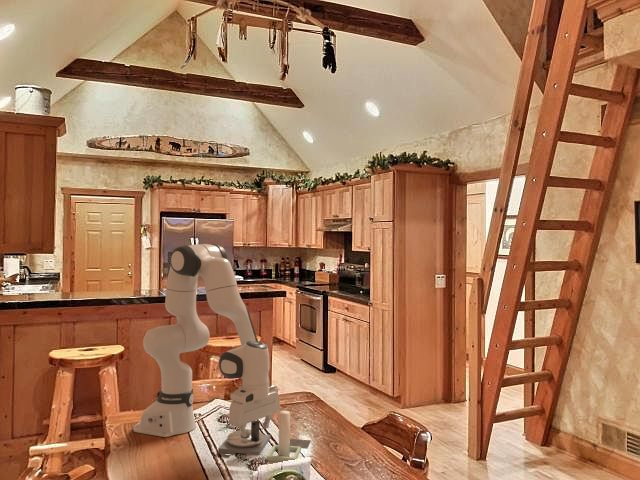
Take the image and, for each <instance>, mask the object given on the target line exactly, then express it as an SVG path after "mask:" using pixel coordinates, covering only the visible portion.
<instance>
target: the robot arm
mask: <svg viewBox="0 0 640 480" xmlns="http://www.w3.org/2000/svg"><path fill="white" fill-rule="evenodd" d="M169 258H170V260H169V263H170V268H169V270H168V274H167V281H166V289H165V302H164V306H165V310H166V311H167V312H168V313H169V314H171V315H172V316H173V317H174V316H175V317H176V323H175V324H168V325H167V324H166V325H159V326H156V327H154V328H150V329H148V330H147V331H146V332H145V335H144V337H143V340H142V345H143V349H144V351H145V352H146V354H148V355H149V356H151V357H152V358H153V359H154V360H155V361H156V362H157V364H158V367H159V369H160V374H161V375H160V377H161V388H160V390H159V391H157V393H155V394H154V395H155V396H154V398H156V400H155V401H154V402H153V403H151V405H149V406H147V407H146V408H145V409H144V410H143V411H142V413H141V416H140V421H138V422H137V423H136V424H135V425H134V427H133V430H132V431H133V432H134V433H139V434H145V435H150V436H158V437H163V438H168V437H171V436H175V435H180V434H185V433H189V432H190V431H194V430H195V428H196V427H197V424H196V420H195V417H194V416H195V415H194V409H193V408H194V407H193V404H194V388H193V370H192V368H191V366H190V365H189V364H187V363H185V362H183V361H181V359H180V354H183V353H188V352H189V353H190V352H195V351H197V350H200V349H203V348H205V347H206V346H207V345H208V344H209V341H210V335H211V334H210V329H209V328H208V326H207V325H206V324H205V323H203V322H202V321H201V319H200V318H199V316H198V315H199V314H198V311H197V293H198V292H197V291H198V281H199V277H201V278H202V280H203V283H204V289H205V295H206V301H207V304H208V306H209V308H210V309H211V310H212V311H213V312H214V313H215V314H217V315H220V316H223V317H225V318H228V319H229V320H231V321H232V322H233V323H234V326H235V328H236V332H237V336H238V338H239V340H240V346H238V347H235V348H232V349H229V350H226V351H224V352H223V353H222V354H220V357H219V359H218V369H219V372H220V374H221V375H222V376H223V377H225V378H226V379H228V380H229V379H233V380H235V379H242V384H241V385H240V386H239V387H238V388H237V389H236V390H234V391H233V392H231V393H230V395H229V397H230V400H232V401H231V403H230V404H229V411H228V413H229V414H228V417H229V418H228V420H229V421H228V422H229V424H230V425H231V426H233V427H237V428H239V430H241V431H242V437H247V436H248V433H249V431H247V430H248V429H246V427H247V424H250V423H251V422H252V421H259V420H261V419H263V418H264V420H263V421H264V422H262V424H261V425H262V429H264V430H267V429H268V428H270V422H271V420H272V417H273V414H276V413H279V412H280V409H281V404H280V401H281V400H280V395H279V388H278V387H277V386H276V385H275V384H274V385H270V378H269V372H270V351H269V347H268V345H267V344H266V343H264V342H263V341H259V340H258V337H257V334H256V330H255V327H254V323H253V321H252V318H251V314H250V312H249V309H248V306H247V305H246V303H244V301H243V299H242V297H241V295H240V292H239V287H238V283H237V282H238V281H237V279H236V275H235V271H234V269H233V266H232V263H231V262H230V261H229V260H228V253H227V250H226V249H225V248H224V247H223V246H221V245H219V244H214V243H211V244H209V243H197V244H190V245H185V244H183V245H181V246H178V247H176V248H174V249H173V250H172V252H171V254H170V257H169Z"/></svg>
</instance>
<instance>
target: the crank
mask: <svg viewBox="0 0 640 480" xmlns="http://www.w3.org/2000/svg"><path fill="white" fill-rule="evenodd" d="M250 423H251V424H250V429H246V430H247V431H249V433H248V436H247V437H242V431H241V429H238V430H235V431H233V432H230V433H229V434H228V435H227V437H226V439H227V442H228V444H229V445H231V446H233V447H238V448H249V447H254V446H257V445H259V444H261V443H262V442H263V435H264V434H263V433H262V432H260V431H261V430H260V428H261V425H260V423H261V421H259V420H255V421H252V422H250Z"/></svg>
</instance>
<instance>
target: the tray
mask: <svg viewBox="0 0 640 480" xmlns="http://www.w3.org/2000/svg"><path fill="white" fill-rule="evenodd" d="M275 451H279V444H274V445H272V447H271V449H270V451H269V452H268V453H267V455H266V461H270V462H272V461H273V462H282V461H288V460H295V459H297V460H298V458H299V455H300V454H301V451H302V448H301V447H298V446H290V452H295V453H294V455H293V456H289V457H283V456H279V455H274V454H275Z"/></svg>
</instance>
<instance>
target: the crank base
mask: <svg viewBox="0 0 640 480" xmlns="http://www.w3.org/2000/svg"><path fill="white" fill-rule="evenodd" d="M270 440H271V434H263V442H262V443H261V444H259V445H257V446H254V447H249V448H238V447H233V446H231V445H229V444H228V442H227V438H226V439H225V440H224V441H223V442H222V444H221V445H220V446H219V447H218V449H217V455H219V454H231V455H233V454H244V455H258V456H260V455H261V453H262V452H263V450H264V449H265V447H266V445H267V444H268V443H269V441H270Z"/></svg>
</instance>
